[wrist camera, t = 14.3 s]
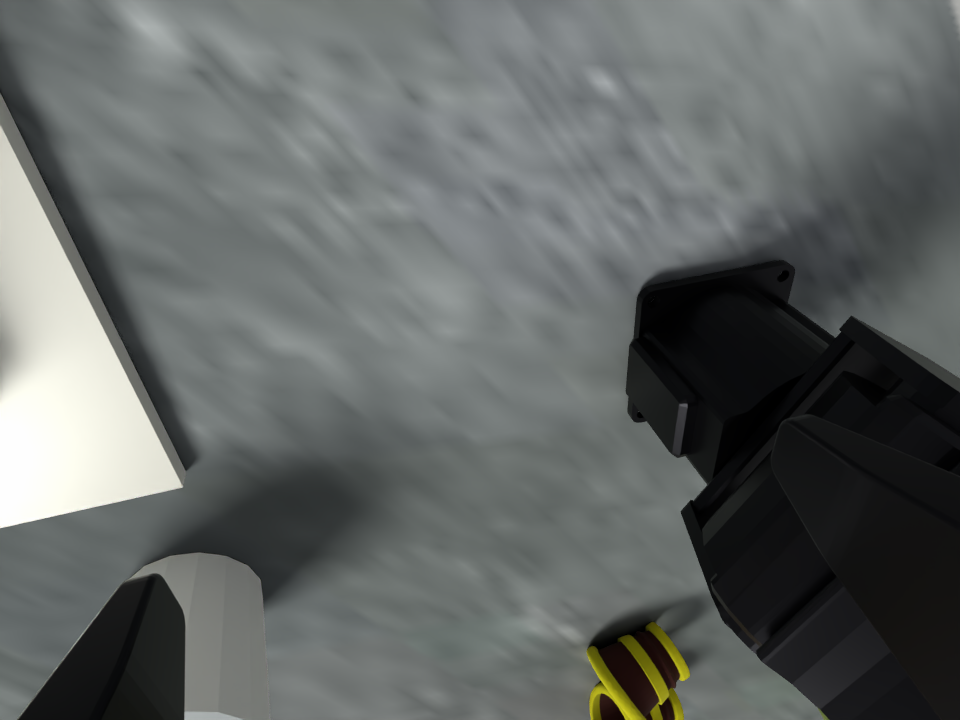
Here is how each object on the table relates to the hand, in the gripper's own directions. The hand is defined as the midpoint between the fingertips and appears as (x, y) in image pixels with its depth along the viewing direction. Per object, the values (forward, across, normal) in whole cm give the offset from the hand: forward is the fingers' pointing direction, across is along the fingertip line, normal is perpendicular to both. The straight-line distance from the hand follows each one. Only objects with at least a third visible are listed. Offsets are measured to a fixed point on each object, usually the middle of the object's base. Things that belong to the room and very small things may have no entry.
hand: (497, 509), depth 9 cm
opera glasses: (+13, -10, +32) cm, 37 cm away
